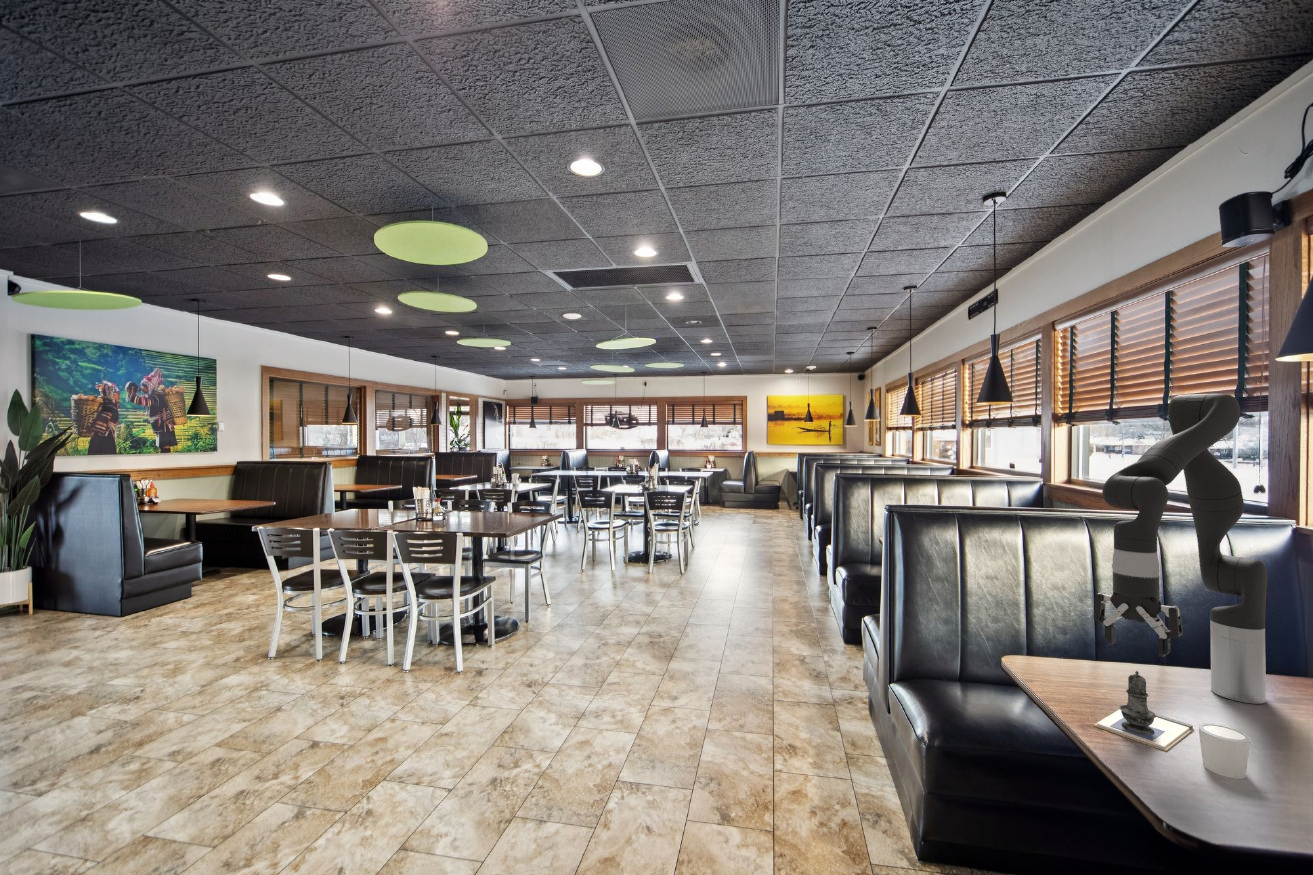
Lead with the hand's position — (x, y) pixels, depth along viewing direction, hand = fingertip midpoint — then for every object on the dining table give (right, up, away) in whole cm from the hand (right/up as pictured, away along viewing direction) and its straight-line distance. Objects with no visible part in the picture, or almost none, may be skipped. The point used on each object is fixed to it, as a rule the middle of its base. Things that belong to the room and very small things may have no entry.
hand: (1136, 649), depth 119 cm
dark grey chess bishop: (0, -17, 0) cm, 17 cm away
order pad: (+3, -17, +2) cm, 18 cm away
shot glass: (+4, -17, -14) cm, 23 cm away
